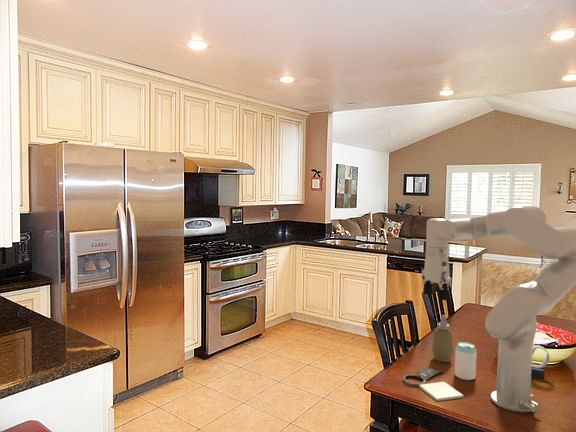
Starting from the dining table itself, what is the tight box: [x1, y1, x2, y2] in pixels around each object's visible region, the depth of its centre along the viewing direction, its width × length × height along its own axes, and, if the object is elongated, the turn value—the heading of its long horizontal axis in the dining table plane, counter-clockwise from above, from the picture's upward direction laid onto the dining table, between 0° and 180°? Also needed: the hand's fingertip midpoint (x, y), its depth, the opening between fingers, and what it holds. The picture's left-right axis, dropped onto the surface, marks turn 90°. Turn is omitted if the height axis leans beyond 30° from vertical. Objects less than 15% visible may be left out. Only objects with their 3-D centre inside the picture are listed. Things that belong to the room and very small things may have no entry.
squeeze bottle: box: [431, 314, 454, 363], centre depth 169 cm, size 8×8×18 cm
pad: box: [418, 381, 464, 402], centre depth 142 cm, size 10×10×1 cm
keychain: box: [402, 366, 444, 388], centre depth 153 cm, size 8×19×2 cm, turn 131°
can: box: [454, 341, 478, 381], centre depth 153 cm, size 7×7×12 cm
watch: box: [531, 344, 551, 380], centre depth 156 cm, size 6×8×11 cm
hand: (435, 296), depth 158 cm, fingers open, 9 cm apart
